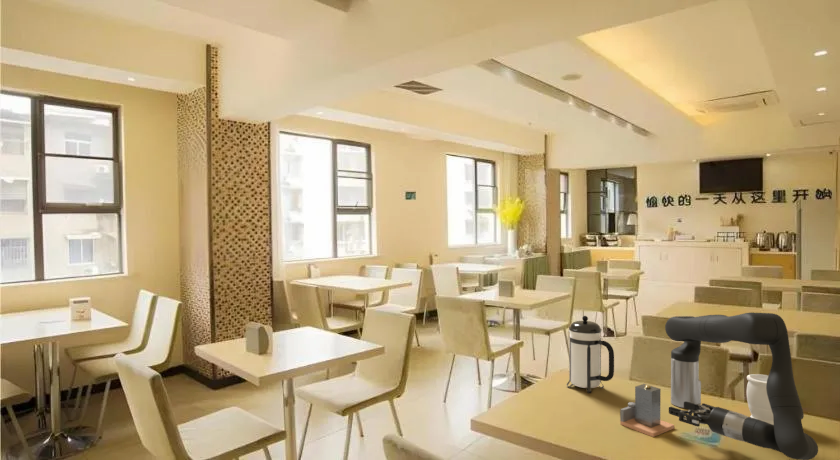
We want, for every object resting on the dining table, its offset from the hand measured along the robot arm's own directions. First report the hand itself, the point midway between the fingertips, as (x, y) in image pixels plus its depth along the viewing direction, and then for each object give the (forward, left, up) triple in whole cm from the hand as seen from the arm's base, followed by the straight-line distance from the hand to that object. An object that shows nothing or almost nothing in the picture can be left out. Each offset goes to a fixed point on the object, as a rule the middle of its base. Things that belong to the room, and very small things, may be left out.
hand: (676, 407), depth 159 cm
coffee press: (+1, -49, -10) cm, 50 cm away
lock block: (+3, -10, -9) cm, 13 cm away
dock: (+3, -10, -10) cm, 14 cm away
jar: (-39, -4, -10) cm, 40 cm away
